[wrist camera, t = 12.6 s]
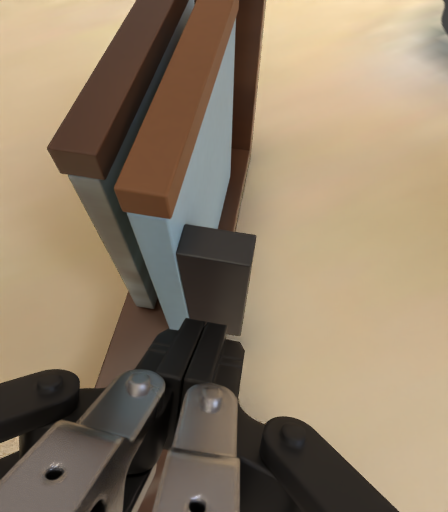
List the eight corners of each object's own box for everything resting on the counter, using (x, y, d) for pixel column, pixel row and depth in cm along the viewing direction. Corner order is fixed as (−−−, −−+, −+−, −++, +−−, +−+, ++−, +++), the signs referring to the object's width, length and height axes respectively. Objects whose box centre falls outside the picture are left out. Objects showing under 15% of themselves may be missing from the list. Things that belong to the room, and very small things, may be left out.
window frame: (251, 154, 27) (272, -64, 16) (147, 653, 14) (-158, 1446, 3) (186, 145, 28) (163, -74, 16) (25, 621, 14) (-679, 1186, 3)
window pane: (266, 180, 24) (298, -12, 14) (239, 344, 18) (259, 210, 9) (211, 172, 24) (205, -22, 14) (167, 330, 18) (111, 187, 9)
